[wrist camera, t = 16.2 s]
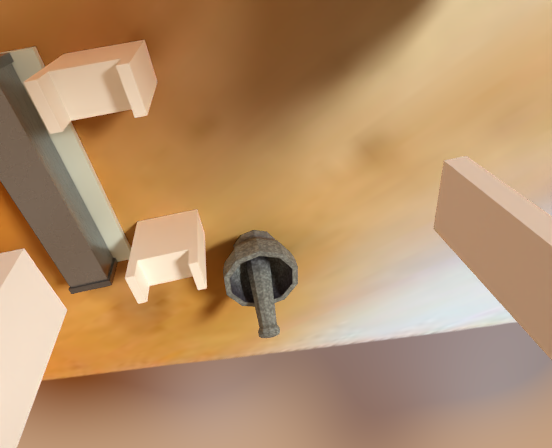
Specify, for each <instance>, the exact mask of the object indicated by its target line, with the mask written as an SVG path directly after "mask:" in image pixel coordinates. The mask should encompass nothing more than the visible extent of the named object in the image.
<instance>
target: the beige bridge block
mask: <svg viewBox="0 0 552 448" xmlns="http://www.w3.org/2000/svg"><path fill="white" fill-rule="evenodd" d="M157 82H158V81H157V78H156V75H155V72H154V68H153V65H152V62H151V59H150V56H149V52H148V49H147V46H146V43H145V40H139V41H134V42H128V43H122V44H117V45H111V46H105V47H100V48H94V49H88V50H82V51H77V52H71V53H65V54H63V55H61V56H60V57H58V58H57V59H56V60H54V61H53V62H51V63H50V64H48V65H47V66H46V67H44V68H43V69H41V70H40V71H38V72H37V73H35V74H34V75H33V76H31V77H30V78H28V79H27V80H25V81H24V82H23V83H24V85H25V87H26V89H27V91H28V93H29V95H30V97H31V99H32V100H33V102H34V104H35V106H36V108H37V110H38V112H39V114H40V116H41V118H42V120H43V122H44V124H45V125H46V127H47V129H48V131H49V133H50V134H52V133H58V132H63V131H64V129H65V128H66V127H67V125H68V124H69V123H70V122H71V121H72V120H78V119H83V118H88V117H94V116H99V115H104V114H110V113H115V112H120V111H126V110H131V109H132V112H133V114H134V117H135V118H137V117H142V116H147V115H148V112H149V108H150V105H151V102H152V99H153V95H154V92H155V89H156V86H157Z"/></svg>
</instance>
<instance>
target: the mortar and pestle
mask: <svg viewBox="0 0 552 448" xmlns="http://www.w3.org/2000/svg"><path fill="white" fill-rule="evenodd" d="M223 274H224V282H225V287H226V293H227V295H228V296H229V297H230V298H232V299H233V300H235V301H236V302H238V303H239V304H240V305H242V306H254V307H255V308H256V313H257V318H258V322H259V327H260V328H259V331H258V333H259V337H261V338H270V337H274V336H277V335H278V334H279V333H280V329H279V327H278V325H277V322H276V313H275V305H274V303H276V302H278V301H281V300H283V299H285V298H286V297H287V296H288V295H289V293H290V292H291V291H292V290H293V289H294V288H295V286H296V285H297V284H298V266H297V263H296V261H295V259H294V257H293V255H292V254H291V253H290V252H289V251H288V250H287V249H286V248H285V247H284V246H283V245H282V244H280V243H279V242H278V241H277V240H275V239H274V238H273V237H272V236H271V235H270V234H269V233H268V232H264V231H256V230H252V231H250V232H248V233H245V234H243V235H240V237H239V238H238V240H237V241H236V243H235V244H234V250H233V251H232V253H231V254H230V256H229V257H228V259H227V260H226V261H225V263H224V269H223Z"/></svg>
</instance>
